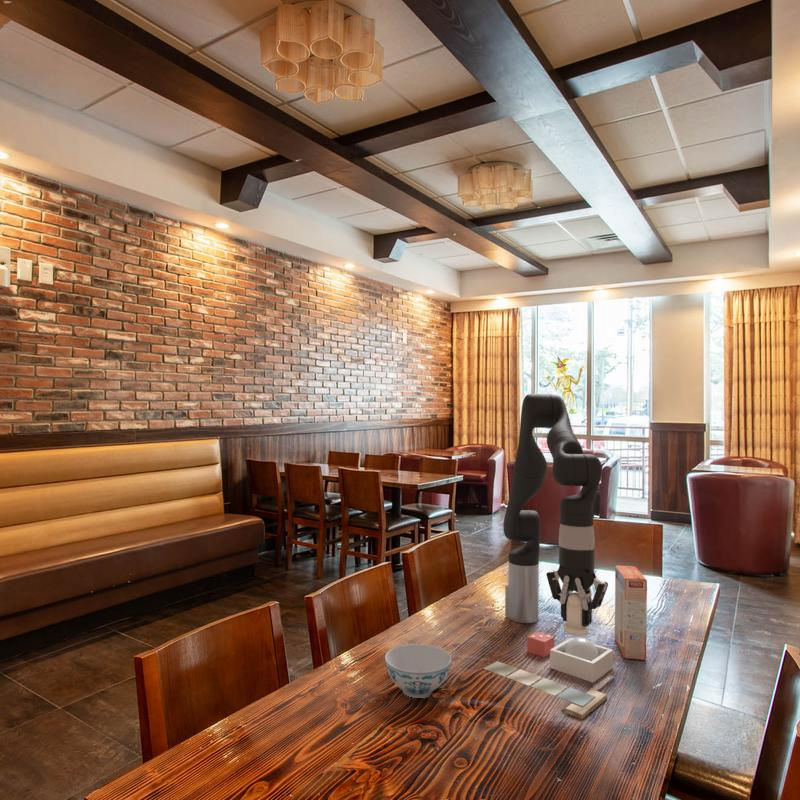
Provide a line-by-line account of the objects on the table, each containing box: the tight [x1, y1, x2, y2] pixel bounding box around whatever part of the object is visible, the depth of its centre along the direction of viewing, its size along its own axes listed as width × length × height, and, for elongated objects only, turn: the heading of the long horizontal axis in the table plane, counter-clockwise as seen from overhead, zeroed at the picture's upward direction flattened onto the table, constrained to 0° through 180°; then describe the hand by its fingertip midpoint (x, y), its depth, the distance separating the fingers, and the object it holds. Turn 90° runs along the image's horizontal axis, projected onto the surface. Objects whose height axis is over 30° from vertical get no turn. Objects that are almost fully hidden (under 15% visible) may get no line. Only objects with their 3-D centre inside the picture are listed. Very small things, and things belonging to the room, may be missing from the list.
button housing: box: [549, 637, 614, 688], centre depth 140 cm, size 11×11×6 cm
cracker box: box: [614, 565, 648, 661], centre depth 154 cm, size 14×6×21 cm, turn 168°
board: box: [483, 660, 608, 720], centre depth 132 cm, size 28×12×1 cm, turn 47°
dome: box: [565, 636, 599, 661], centre depth 140 cm, size 8×8×8 cm
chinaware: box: [384, 643, 452, 699], centre depth 129 cm, size 15×15×8 cm
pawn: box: [563, 591, 589, 637], centre depth 126 cm, size 5×5×8 cm
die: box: [526, 631, 555, 658], centre depth 149 cm, size 5×5×5 cm
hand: (576, 622), depth 126 cm, fingers closed on pawn, 4 cm apart
